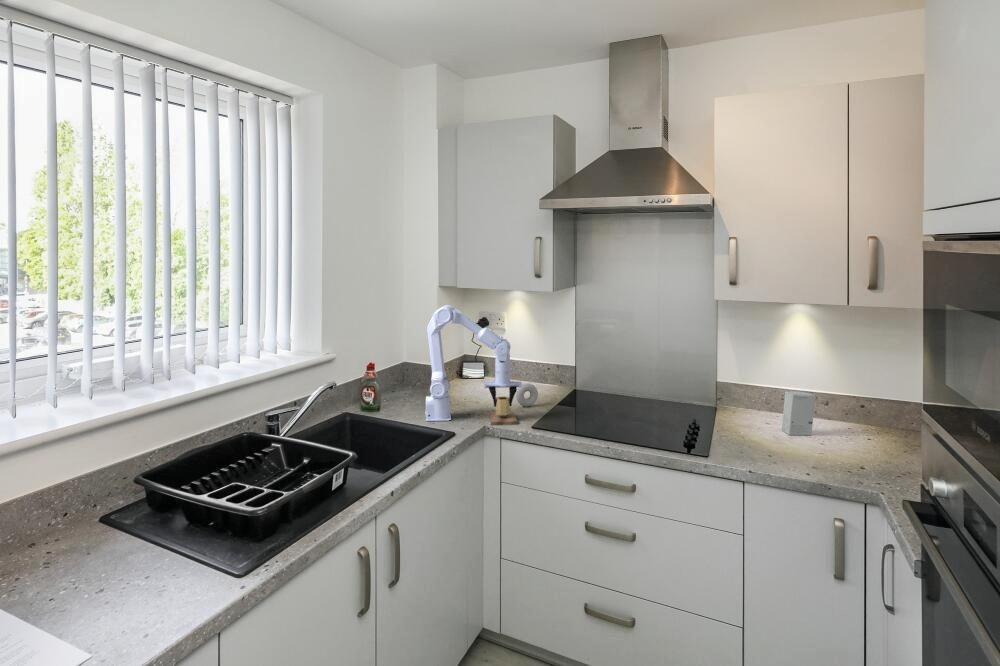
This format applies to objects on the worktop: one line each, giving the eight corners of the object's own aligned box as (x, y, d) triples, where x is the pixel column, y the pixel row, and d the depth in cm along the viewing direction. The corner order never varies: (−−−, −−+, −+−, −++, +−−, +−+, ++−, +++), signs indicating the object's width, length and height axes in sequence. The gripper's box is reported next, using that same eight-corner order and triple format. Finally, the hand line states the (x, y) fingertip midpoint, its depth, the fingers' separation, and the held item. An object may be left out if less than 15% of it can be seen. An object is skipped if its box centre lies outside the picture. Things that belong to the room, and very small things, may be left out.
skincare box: (789, 435, 198) (792, 394, 196) (780, 430, 204) (783, 390, 202) (812, 435, 198) (816, 395, 196) (803, 430, 204) (807, 390, 202)
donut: (535, 404, 239) (535, 381, 237) (539, 406, 236) (539, 383, 234) (514, 406, 235) (514, 383, 233) (517, 408, 232) (518, 385, 230)
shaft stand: (490, 425, 210) (490, 410, 209) (488, 415, 222) (488, 401, 222) (517, 424, 211) (517, 410, 210) (513, 414, 223) (513, 401, 223)
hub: (496, 415, 213) (496, 400, 212) (495, 411, 218) (495, 396, 218) (510, 415, 214) (510, 399, 213) (508, 411, 219) (508, 396, 218)
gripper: (484, 373, 209) (484, 409, 211) (522, 373, 211) (522, 408, 212) (483, 370, 216) (483, 404, 218) (520, 369, 217) (520, 403, 219)
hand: (502, 405), depth 216 cm, fingers closed on hub, 5 cm apart
